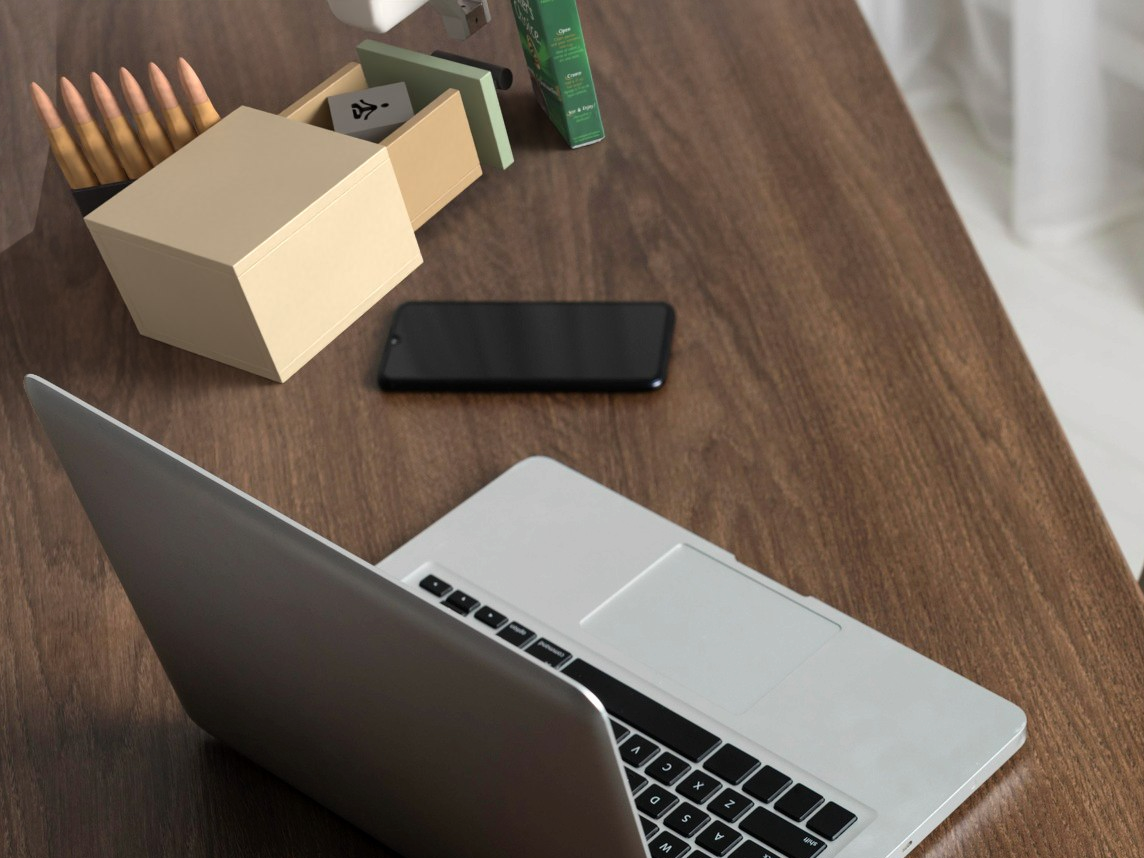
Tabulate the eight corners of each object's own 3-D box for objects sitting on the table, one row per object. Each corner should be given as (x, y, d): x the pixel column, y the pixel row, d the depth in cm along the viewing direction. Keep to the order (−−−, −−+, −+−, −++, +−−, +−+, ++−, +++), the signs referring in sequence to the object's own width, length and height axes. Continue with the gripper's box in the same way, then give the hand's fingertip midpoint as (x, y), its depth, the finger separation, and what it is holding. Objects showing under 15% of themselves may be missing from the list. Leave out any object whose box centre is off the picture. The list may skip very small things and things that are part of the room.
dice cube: (350, 163, 117) (327, 96, 113) (424, 148, 118) (404, 81, 114) (359, 202, 114) (335, 135, 110) (435, 186, 115) (414, 119, 111)
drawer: (432, 98, 124) (406, 9, 119) (550, 130, 121) (529, 40, 116) (274, 221, 114) (238, 130, 109) (398, 260, 111) (367, 168, 106)
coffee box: (531, 99, 125) (487, -78, 116) (568, 88, 126) (528, -88, 116) (569, 151, 121) (527, -28, 111) (607, 140, 122) (569, -39, 112)
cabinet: (286, 219, 116) (241, 104, 110) (423, 262, 113) (386, 145, 106) (139, 334, 108) (82, 217, 102) (282, 384, 105) (232, 266, 98)
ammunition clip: (268, 215, 115) (196, 47, 107) (267, 230, 114) (193, 61, 105) (104, 244, 114) (17, 77, 105) (101, 259, 113) (13, 92, 104)
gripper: (475, -239, 118) (521, -44, 128) (271, -114, 106) (340, 90, 116) (550, -224, 116) (591, -28, 127) (352, -95, 104) (415, 110, 115)
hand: (469, 30), depth 121 cm, fingers closed
